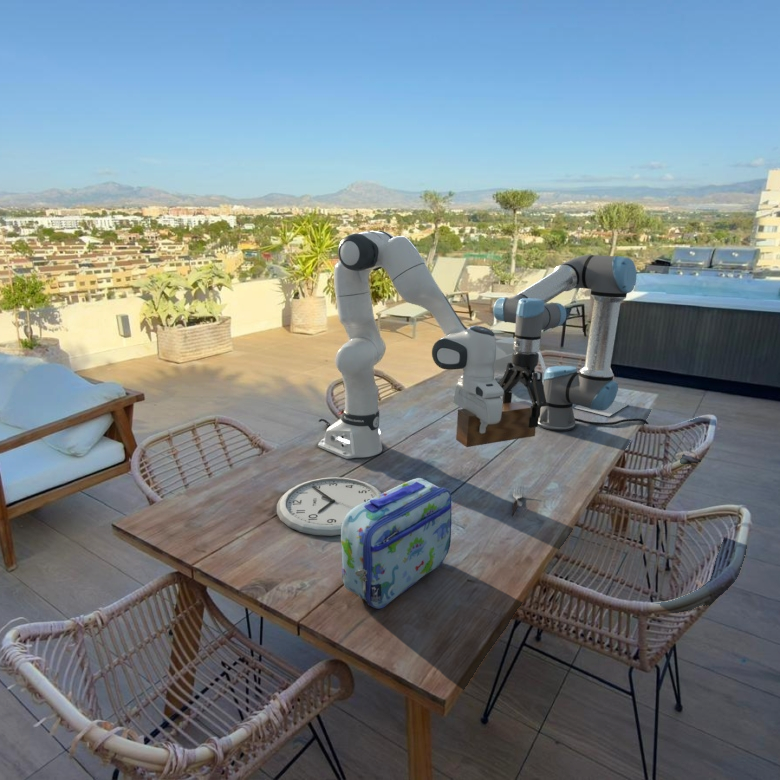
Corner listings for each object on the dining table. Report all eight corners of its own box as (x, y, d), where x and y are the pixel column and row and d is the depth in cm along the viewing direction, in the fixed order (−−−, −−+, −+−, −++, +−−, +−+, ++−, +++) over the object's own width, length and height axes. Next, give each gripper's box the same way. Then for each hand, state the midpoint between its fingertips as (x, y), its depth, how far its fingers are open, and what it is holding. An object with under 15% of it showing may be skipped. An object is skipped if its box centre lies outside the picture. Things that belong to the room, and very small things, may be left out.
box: (522, 429, 166) (525, 400, 163) (534, 436, 161) (538, 406, 158) (456, 439, 157) (457, 409, 154) (466, 447, 152) (468, 416, 149)
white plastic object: (486, 418, 267) (465, 395, 242) (467, 346, 289) (447, 318, 264) (556, 394, 255) (543, 367, 230) (531, 321, 277) (516, 289, 252)
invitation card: (608, 416, 214) (573, 407, 224) (608, 416, 214) (573, 408, 224) (628, 404, 229) (594, 396, 238) (628, 405, 229) (594, 397, 238)
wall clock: (392, 527, 129) (268, 531, 127) (391, 533, 130) (269, 537, 127) (383, 473, 158) (282, 475, 155) (383, 478, 158) (282, 480, 156)
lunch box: (370, 622, 101) (370, 527, 94) (335, 595, 108) (333, 505, 102) (455, 565, 118) (460, 481, 112) (420, 544, 125) (423, 465, 119)
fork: (506, 517, 138) (507, 510, 138) (514, 490, 152) (515, 483, 152) (516, 518, 137) (517, 512, 137) (523, 491, 152) (524, 485, 151)
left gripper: (450, 375, 158) (448, 417, 163) (488, 394, 140) (484, 442, 145) (468, 373, 161) (465, 415, 165) (507, 392, 143) (503, 439, 147)
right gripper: (491, 344, 164) (486, 408, 170) (543, 362, 142) (534, 435, 148) (511, 342, 167) (505, 405, 173) (565, 360, 145) (556, 432, 151)
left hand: (474, 428), depth 155 cm, fingers closed on box, 6 cm apart
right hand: (519, 419), depth 160 cm, fingers open, 13 cm apart
